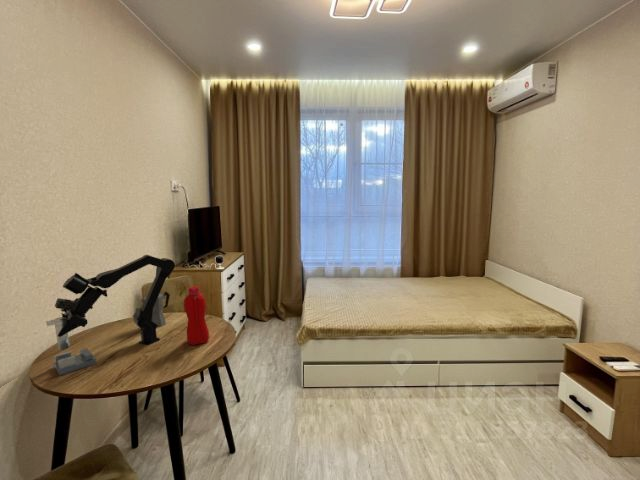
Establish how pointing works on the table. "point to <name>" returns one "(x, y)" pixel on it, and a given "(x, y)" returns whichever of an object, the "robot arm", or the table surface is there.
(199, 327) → the water bottle
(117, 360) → the table surface
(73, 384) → the table surface
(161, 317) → the coffeepot
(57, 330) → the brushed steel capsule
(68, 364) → the vise
